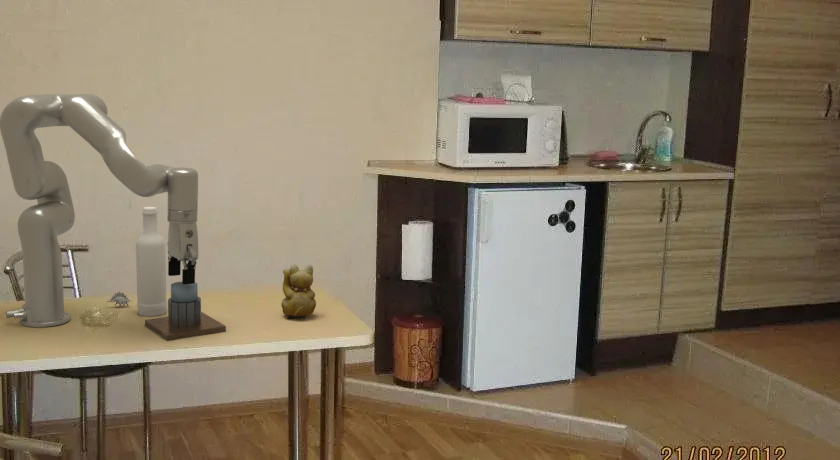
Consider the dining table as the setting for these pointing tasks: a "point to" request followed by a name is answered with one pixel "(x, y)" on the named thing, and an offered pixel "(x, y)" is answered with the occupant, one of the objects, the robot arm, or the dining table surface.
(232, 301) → the dining table surface
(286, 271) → the decorative figurine
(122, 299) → the stegosaurus
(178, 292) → the cap
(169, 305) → the copper square plate
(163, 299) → the bottle
